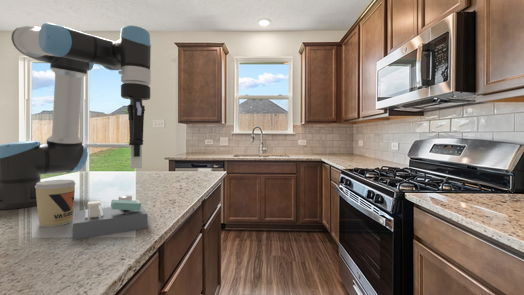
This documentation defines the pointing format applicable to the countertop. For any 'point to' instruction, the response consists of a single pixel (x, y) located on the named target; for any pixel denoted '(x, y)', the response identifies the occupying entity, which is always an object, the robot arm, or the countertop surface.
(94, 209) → the slider
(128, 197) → the plunger
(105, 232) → the console
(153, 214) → the countertop surface
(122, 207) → the block
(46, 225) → the coffee cup
